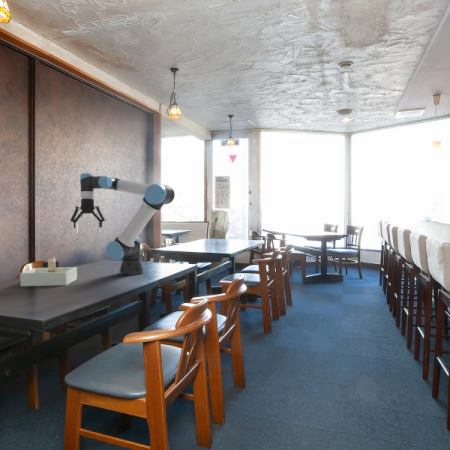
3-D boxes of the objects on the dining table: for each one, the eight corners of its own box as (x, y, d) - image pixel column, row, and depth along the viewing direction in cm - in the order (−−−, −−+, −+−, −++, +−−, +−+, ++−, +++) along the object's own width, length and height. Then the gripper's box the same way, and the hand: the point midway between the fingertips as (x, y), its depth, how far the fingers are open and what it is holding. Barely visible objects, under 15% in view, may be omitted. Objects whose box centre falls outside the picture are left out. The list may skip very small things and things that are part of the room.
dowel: (54, 282, 211) (53, 257, 210) (47, 282, 210) (46, 257, 210) (57, 280, 215) (56, 256, 214) (50, 280, 214) (49, 256, 214)
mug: (55, 279, 220) (55, 263, 220) (38, 278, 223) (38, 263, 222) (66, 276, 229) (65, 261, 229) (49, 275, 232) (49, 261, 232)
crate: (77, 278, 219) (76, 267, 219) (66, 285, 201) (66, 272, 201) (35, 279, 217) (34, 268, 217) (20, 286, 200) (20, 273, 199)
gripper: (109, 198, 233) (110, 232, 234) (68, 198, 231) (69, 232, 232) (106, 198, 226) (107, 232, 227) (64, 198, 224) (65, 233, 225)
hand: (88, 232), depth 229 cm, fingers open, 13 cm apart
